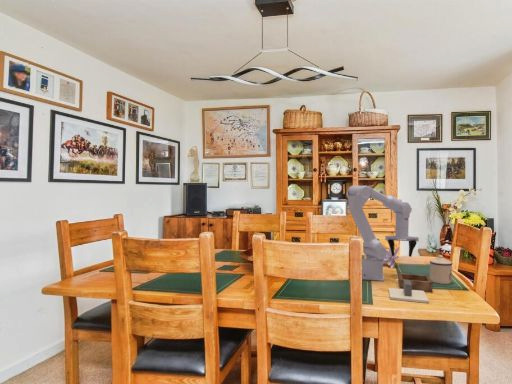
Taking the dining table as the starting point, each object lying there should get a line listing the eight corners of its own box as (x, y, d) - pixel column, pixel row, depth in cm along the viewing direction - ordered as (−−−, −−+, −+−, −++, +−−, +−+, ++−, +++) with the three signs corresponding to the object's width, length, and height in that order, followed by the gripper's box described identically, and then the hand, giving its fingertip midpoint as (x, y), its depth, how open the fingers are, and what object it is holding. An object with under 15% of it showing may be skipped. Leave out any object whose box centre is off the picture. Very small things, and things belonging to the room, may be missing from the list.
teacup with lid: (454, 285, 155) (455, 258, 155) (431, 283, 157) (432, 257, 157) (446, 278, 167) (447, 253, 166) (425, 276, 169) (426, 252, 169)
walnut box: (400, 289, 147) (400, 279, 147) (398, 282, 159) (398, 273, 159) (432, 292, 144) (432, 282, 144) (428, 284, 155) (428, 275, 155)
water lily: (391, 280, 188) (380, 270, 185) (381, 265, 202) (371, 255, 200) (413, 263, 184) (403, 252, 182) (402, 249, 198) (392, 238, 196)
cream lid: (390, 300, 134) (390, 285, 134) (388, 290, 147) (388, 277, 147) (428, 304, 130) (429, 288, 130) (423, 293, 143) (424, 279, 143)
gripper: (387, 228, 167) (386, 257, 167) (420, 228, 164) (420, 258, 164) (384, 226, 174) (384, 254, 174) (416, 227, 171) (416, 255, 171)
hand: (401, 256), depth 170 cm, fingers open, 7 cm apart
